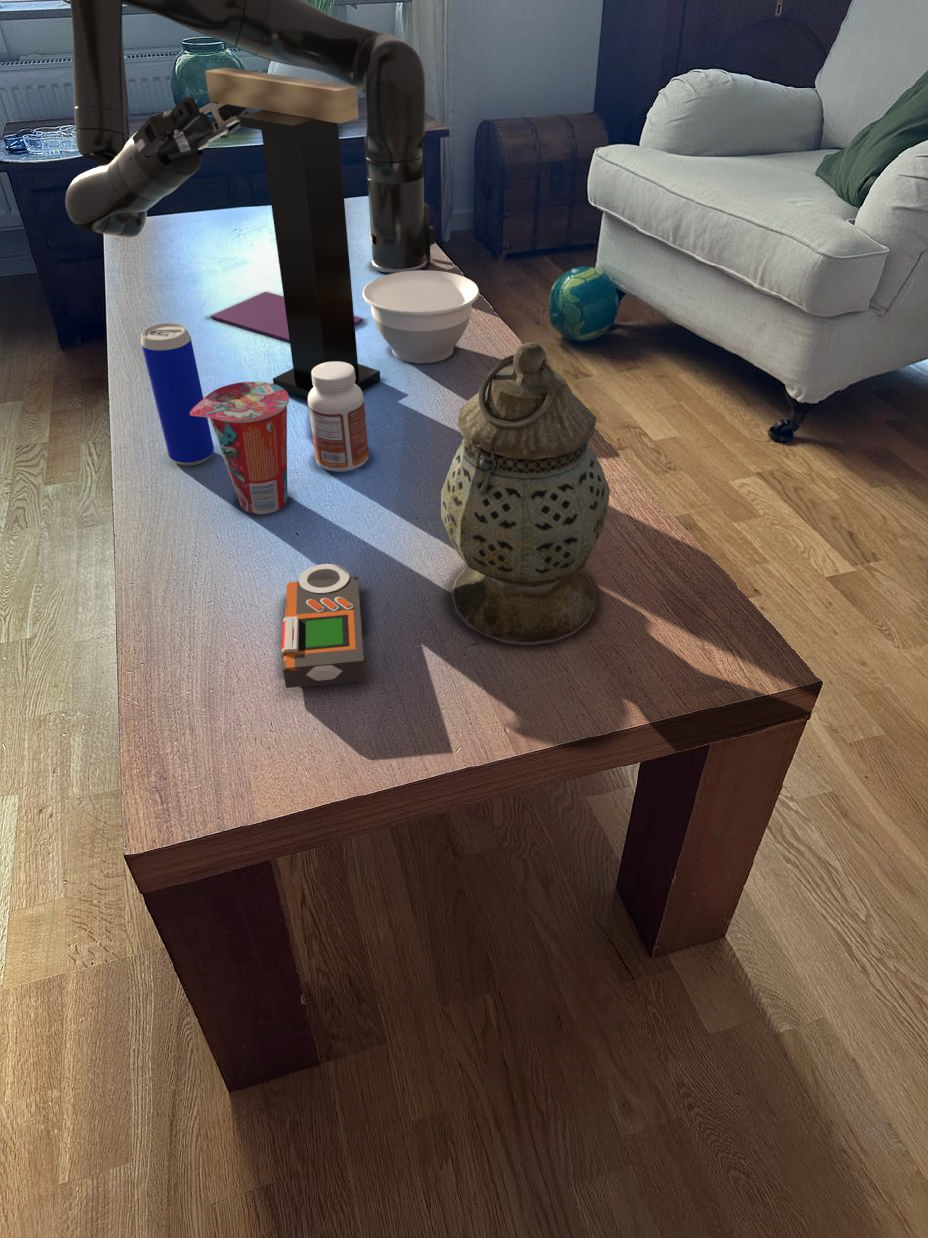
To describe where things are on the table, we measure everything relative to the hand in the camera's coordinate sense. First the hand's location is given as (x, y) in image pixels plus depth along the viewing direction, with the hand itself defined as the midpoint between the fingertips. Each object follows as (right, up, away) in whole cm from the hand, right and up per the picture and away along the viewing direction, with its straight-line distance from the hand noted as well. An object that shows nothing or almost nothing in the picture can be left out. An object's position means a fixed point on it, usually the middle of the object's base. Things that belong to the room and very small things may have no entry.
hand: (223, 98), depth 102 cm
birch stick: (+8, -4, -4) cm, 9 cm away
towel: (+1, -14, +33) cm, 36 cm away
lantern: (+33, -58, -19) cm, 70 cm away
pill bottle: (+14, -42, +1) cm, 44 cm away
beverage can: (-4, -41, +2) cm, 41 cm away
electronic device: (+15, -62, -22) cm, 67 cm away
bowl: (+22, -22, +24) cm, 39 cm away
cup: (+6, -48, -6) cm, 48 cm away
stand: (+10, -29, +16) cm, 34 cm away
